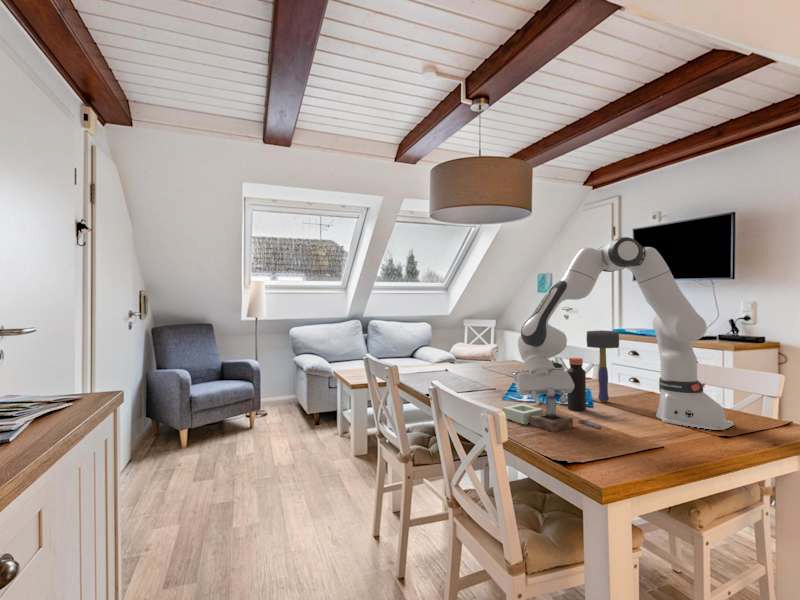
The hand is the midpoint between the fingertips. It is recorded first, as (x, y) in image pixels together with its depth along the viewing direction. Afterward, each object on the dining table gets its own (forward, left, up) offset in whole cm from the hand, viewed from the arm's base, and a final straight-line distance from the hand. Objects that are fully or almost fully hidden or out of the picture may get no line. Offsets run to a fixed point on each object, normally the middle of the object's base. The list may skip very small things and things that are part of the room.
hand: (551, 403), depth 147 cm
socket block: (+1, 0, -8) cm, 8 cm away
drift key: (-6, -11, -8) cm, 15 cm away
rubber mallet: (+11, -45, -8) cm, 47 cm away
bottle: (+10, -26, -8) cm, 29 cm away
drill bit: (+1, 0, -8) cm, 8 cm away
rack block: (+12, +2, -8) cm, 14 cm away
